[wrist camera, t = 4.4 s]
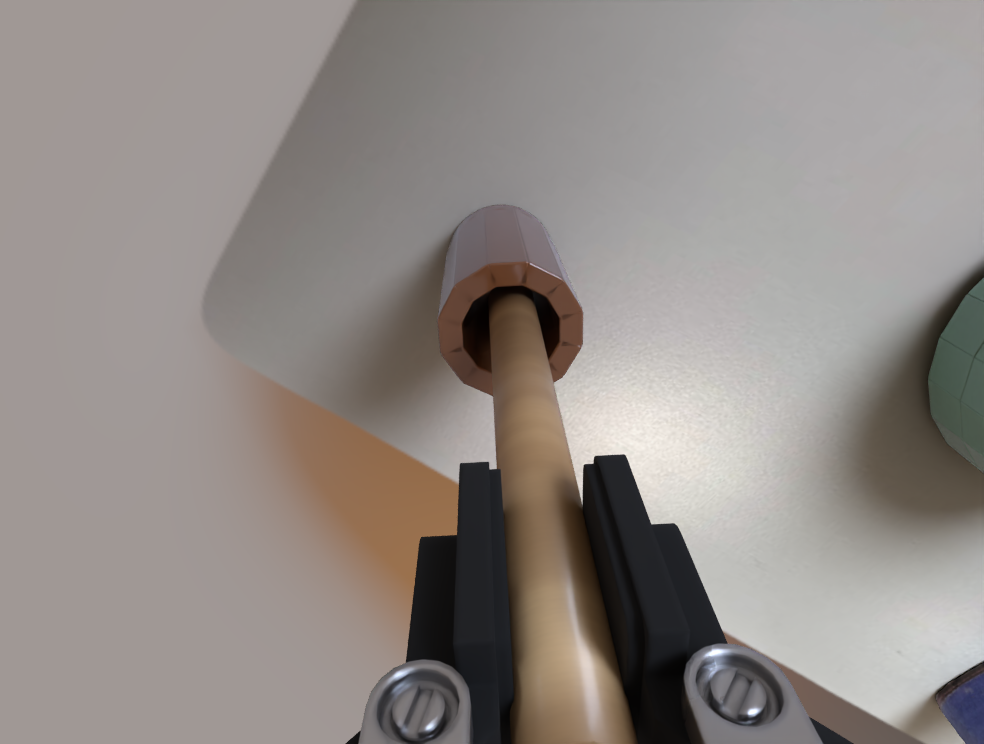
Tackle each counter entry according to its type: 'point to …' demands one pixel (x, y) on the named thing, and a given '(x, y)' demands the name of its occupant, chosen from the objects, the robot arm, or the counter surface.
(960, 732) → the flask
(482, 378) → the crock
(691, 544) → the counter surface
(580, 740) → the cooking stick
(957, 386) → the bowl
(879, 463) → the counter surface
